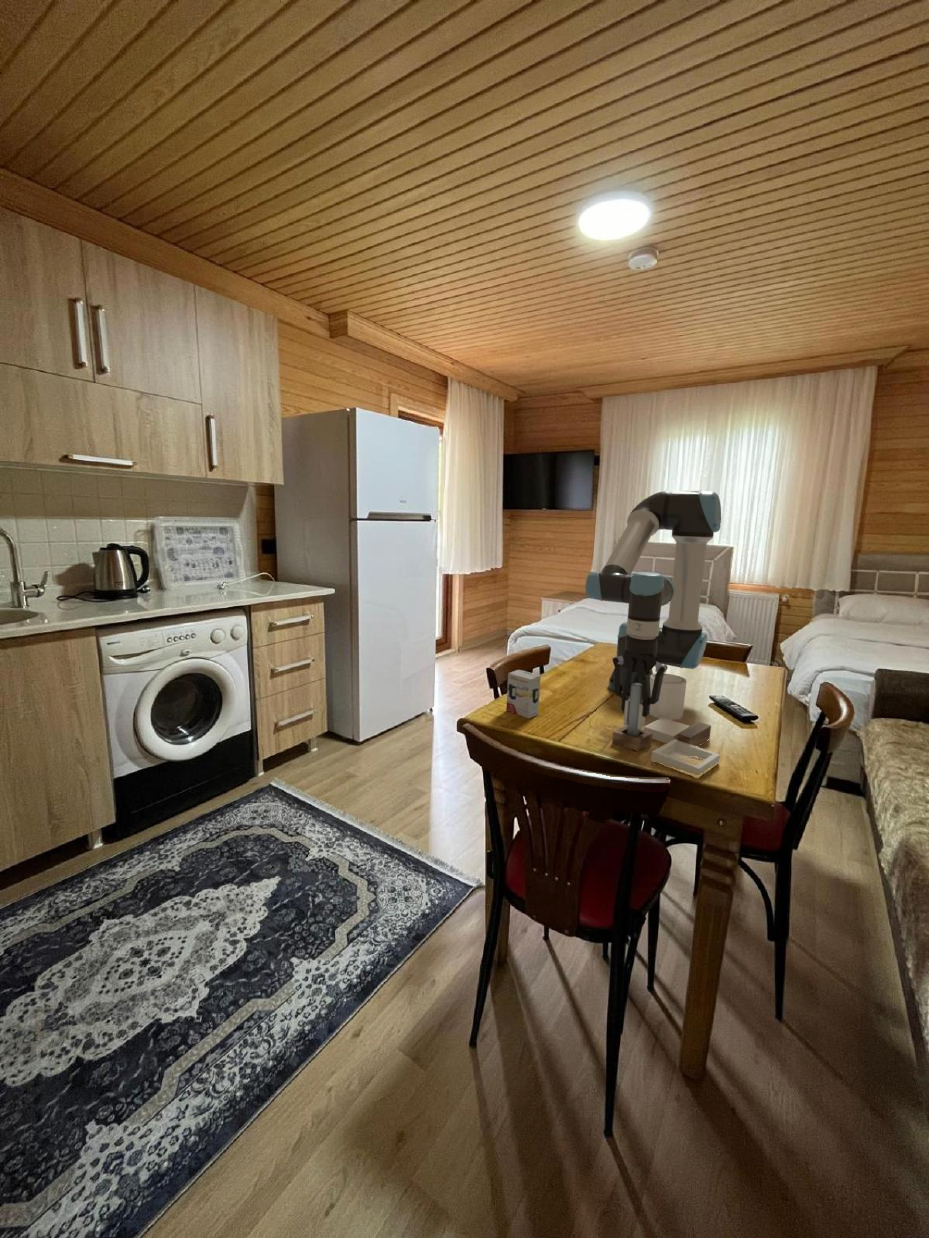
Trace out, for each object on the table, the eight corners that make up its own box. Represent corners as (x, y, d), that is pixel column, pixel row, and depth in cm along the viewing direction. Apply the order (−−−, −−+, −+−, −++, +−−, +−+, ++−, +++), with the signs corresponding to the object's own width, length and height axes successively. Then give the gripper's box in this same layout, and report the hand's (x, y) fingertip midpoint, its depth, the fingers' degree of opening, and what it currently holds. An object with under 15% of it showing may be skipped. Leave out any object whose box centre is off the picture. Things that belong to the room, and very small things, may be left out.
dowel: (624, 740, 137) (629, 684, 134) (629, 737, 139) (634, 682, 136) (635, 744, 135) (641, 687, 132) (640, 740, 137) (645, 684, 134)
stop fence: (676, 748, 134) (678, 733, 134) (698, 736, 142) (699, 722, 142) (688, 752, 132) (690, 737, 131) (709, 739, 140) (711, 725, 139)
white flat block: (643, 737, 142) (644, 726, 141) (660, 727, 149) (661, 717, 148) (672, 747, 136) (673, 736, 136) (689, 736, 143) (690, 725, 143)
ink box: (505, 710, 157) (506, 672, 155) (515, 706, 161) (517, 668, 158) (529, 718, 151) (531, 679, 149) (539, 714, 155) (541, 675, 153)
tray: (651, 761, 127) (652, 751, 127) (673, 748, 135) (674, 739, 134) (697, 779, 119) (698, 768, 119) (718, 764, 127) (720, 754, 126)
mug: (682, 726, 149) (686, 689, 147) (644, 719, 153) (647, 684, 151) (682, 710, 162) (686, 676, 160) (647, 704, 165) (650, 671, 163)
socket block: (612, 742, 137) (613, 731, 137) (626, 735, 142) (627, 724, 141) (637, 751, 132) (638, 740, 131) (651, 744, 137) (652, 733, 136)
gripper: (604, 633, 133) (597, 721, 138) (669, 644, 124) (660, 739, 128) (617, 628, 139) (610, 713, 144) (680, 638, 129) (670, 729, 134)
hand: (633, 725), depth 136 cm, fingers closed on dowel, 3 cm apart
